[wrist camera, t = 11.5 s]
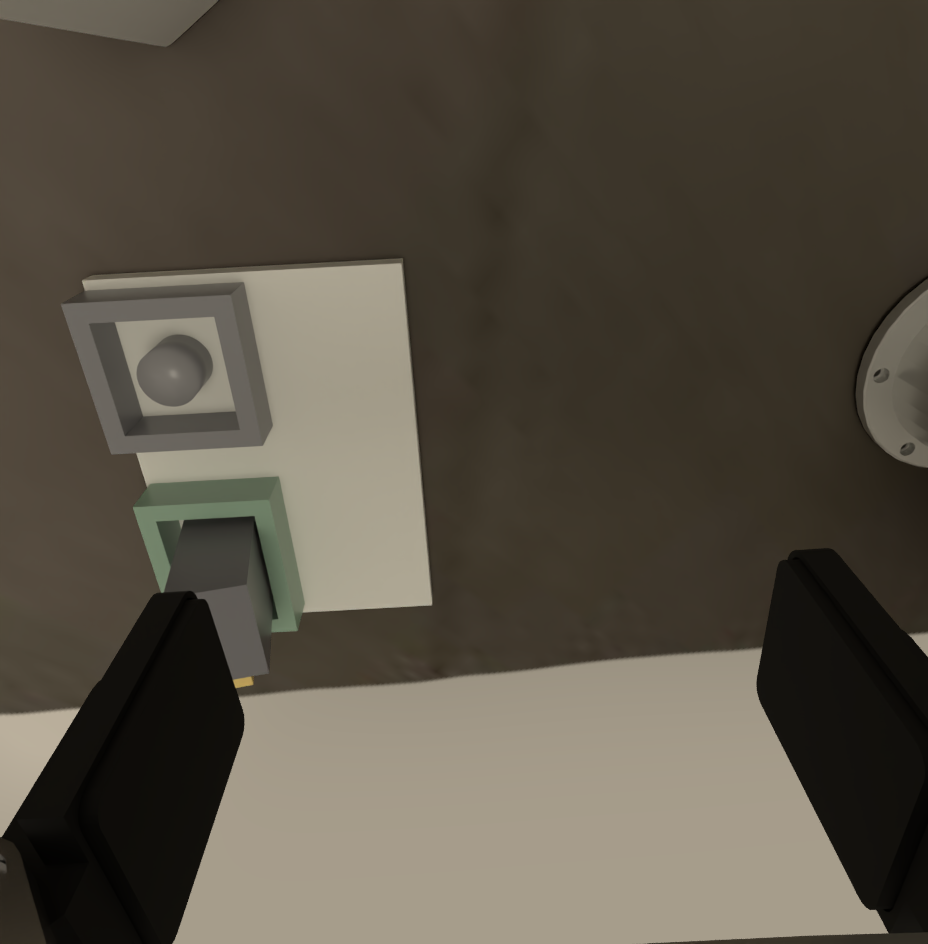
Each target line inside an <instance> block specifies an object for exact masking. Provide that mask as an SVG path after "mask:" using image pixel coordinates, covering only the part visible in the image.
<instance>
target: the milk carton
mask: <svg viewBox="0 0 928 944" xmlns="http://www.w3.org/2000/svg"><path fill="white" fill-rule="evenodd" d="M218 1H219V0H0V19H4V20H10V21H16V22H22V23H28V24H33V25H39V26H45V27H51V28H57V29H63V30H69V31H74V32H80V33H86V34H92V35H98V36H104V37H109V38H115V39H121V40H127V41H133V42H139V43H145V44H150V45H156V46H162V47H167V46H169V45H171V44H172V43H173V42H174V41H175V40H177V39H178V38H179V37H180V36H181V35H182V34H183V33H184V32H185V31H186V30H187V29H189V28H190V27H191V26H192V25H193V24H194V23H195V22H196V21H197V20H198V19H199V18H200V17H201V16H203V15H204V14H205V13H206V12H207V11H208V10H209V9H210V8H211V7H212V6H213V5H214V4H215V3H217V2H218Z"/></svg>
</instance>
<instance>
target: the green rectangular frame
mask: <svg viewBox="0 0 928 944" xmlns="http://www.w3.org/2000/svg"><path fill="white" fill-rule="evenodd" d="M133 509H134V512H135V515H136V518H137V521H138V524H139V527H140V530H141V533H142V536H143V539H144V542H145V545H146V548H147V551H148V554H149V557H150V560H151V563H152V566H153V569H154V572H155V575H156V578H157V581H158V584H159V587H160V590H161V593H163V592H164V590H165V586H166V582H167V579H168V575H169V572H170V568H171V564H172V561H173V557H174V554H175V550H176V546H177V543H178V539H179V536H180V532H181V526H180V523H179V520H192V519H209V518H227V517H245V516H255V520H256V525H257V529H258V533H259V537H260V542H261V546H262V550H263V555H264V559H265V563H266V568H267V572H268V576H269V580H270V585H271V589H272V593H273V613H272V631H271V632H285V631H298V627H299V624H300V620H301V616H302V612H303V609H304V605H305V601H304V596H303V592H302V587H301V582H300V577H299V572H298V567H297V562H296V558H295V553H294V548H293V543H292V538H291V533H290V528H289V523H288V519H287V514H286V509H285V504H284V499H283V494H282V489H281V484H280V480H279V477H261V478H243V479H225V480H207V481H189V482H171V483H153V484H150V485H149V486H148V488H147V489H146V490H145V492H144V493H143V494H142V496H141V497H140V498H139V500H138V501H137V502H136V504H135V505H134V506H133Z"/></svg>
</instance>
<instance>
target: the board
mask: <svg viewBox="0 0 928 944" xmlns="http://www.w3.org/2000/svg"><path fill="white" fill-rule="evenodd" d="M82 283H83V286H84V289H85V291H83V292H82V293H80V294H78V295H76V296H74V297H73V298H71V299H69V300H67V301H65V302H64V303H62V304H61V306H62V309H63V312H64V315H65V318H66V321H67V324H68V327H69V330H70V333H71V336H72V339H73V342H74V345H75V348H76V351H77V354H78V357H79V360H80V363H81V366H82V368H83V371H84V374H85V377H86V380H87V383H88V386H89V389H90V392H91V395H92V398H93V401H94V404H95V407H96V410H97V413H98V416H99V419H100V422H101V425H102V428H103V431H104V434H105V437H106V440H107V443H108V446H109V449H110V452H111V454H127V453H136V454H137V457H138V460H139V463H140V466H141V469H142V473H143V476H144V479H145V482H146V485H147V488H148V486H149V485H150V484H153V483H171V482H189V481H207V480H225V479H243V478H261V477H279V480H280V484H281V489H282V494H283V499H284V504H285V509H286V514H287V519H288V523H289V528H290V533H291V538H292V543H293V548H294V553H295V558H296V562H297V567H298V572H299V577H300V582H301V587H302V592H303V596H304V601H305V605H304V609H303V612H319V611H337V610H355V609H373V608H390V607H408V606H426V605H432V584H431V573H430V561H429V550H428V538H427V527H426V516H425V504H424V493H423V482H422V470H421V459H420V447H419V436H418V425H417V413H416V402H415V391H414V379H413V368H412V356H411V345H410V334H409V322H408V311H407V300H406V288H405V277H404V266H403V258H397V259H378V260H360V261H341V262H323V263H305V264H286V265H268V266H249V267H231V268H213V269H194V270H176V271H157V272H139V273H121V274H102V275H92V276H90V277H88V278H86V279H84V280H82ZM183 521H184V520H179V523H180V526H181V529H182V525H183Z"/></svg>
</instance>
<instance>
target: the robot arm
mask: <svg viewBox="0 0 928 944" xmlns="http://www.w3.org/2000/svg"><path fill="white" fill-rule="evenodd" d="M855 395H856V403H857V412H858V415H859V417H860V420H861V423H862V425H863V428H864V429H865V431H866V432H867V433H868V435H869V436H870V437H871V439H872V440H873V441H874V442H875V443H876V444H877V445H879V446H880V447H881V448H882V449H883V450H884V451H886V452H887V453H888V454H890V455H891V456H893V457H894V458H896V459H897V460H899V461H902V462H905V463H908V464H911V465H914V466H917V467H925V468H928V279H927V280H925V281H924V282H923V283H921V284H920V285H919V286H918V287H916V288H915V289H914V290H913V291H911V292H910V293H909V294H908V295H906V296H905V297H904V298H903V299H902V300H901V301H900V302H899V303H898V305H897V306H896V307H895V308H894V309H893V310H892V311H891V312H890V313H889V314H888V315H887V317H886V318H885V319H884V321H883V322H882V324H881V325H880V327H879V328H878V329H877V331H876V332H875V334H874V335H873V337H872V339H871V341H870V343H869V345H868V347H867V349H866V351H865V353H864V355H863V358H862V362H861V365H860V368H859V372H858V375H857V384H856V394H855ZM757 693H758V697H759V700H760V703H761V705H762V707H763V709H764V711H765V713H766V715H767V717H768V719H769V721H770V723H771V725H772V727H773V729H774V731H775V733H776V735H777V737H778V739H779V741H780V742H781V744H782V746H783V748H784V750H785V752H786V754H787V756H788V758H789V760H790V762H791V764H792V766H793V768H794V770H795V772H796V774H797V776H798V778H799V780H800V782H801V784H802V786H803V788H804V790H805V792H806V794H807V796H808V798H809V800H810V802H811V804H812V806H813V808H814V810H815V812H816V814H817V816H818V818H819V820H820V822H821V823H822V826H823V827H824V830H825V832H826V833H827V836H828V837H829V839H830V841H831V843H832V845H833V847H834V849H835V851H836V853H837V855H838V857H839V859H840V861H841V863H842V865H843V867H844V869H845V871H846V873H847V875H848V877H849V879H850V881H851V883H852V885H853V887H854V889H855V891H856V893H857V895H858V897H859V898H860V900H861V902H862V903H863V904H864V906H865V907H866V908H868V909H869V910H877V912H878V914H879V916H880V918H881V919H882V921H883V923H884V925H885V927H886V929H887V931H888V933H889V934H855V935H822V936H795V937H774V938H755V939H754V938H753V939H732V940H711V941H691V942H670V943H649V944H928V657H927V656H926V654H925V653H924V652H923V651H922V650H921V649H920V647H919V646H918V645H917V644H916V643H915V642H914V640H913V639H912V638H911V637H910V636H909V635H908V634H907V633H906V632H904V631H903V630H901V629H900V628H899V626H898V625H897V624H896V623H895V622H894V620H893V619H892V618H891V617H890V616H889V614H888V613H887V612H886V611H885V610H884V608H883V607H882V606H881V605H880V604H879V603H878V601H877V600H876V599H875V598H874V597H873V595H872V594H871V593H870V592H869V591H868V589H867V588H866V587H865V586H864V585H863V583H862V582H861V581H860V580H859V579H858V578H857V576H856V575H855V574H854V573H853V572H852V570H851V569H850V568H849V567H848V566H847V564H846V563H845V562H844V561H843V560H842V558H841V557H840V556H839V555H838V554H837V553H836V552H835V551H834V550H833V549H830V548H824V549H809V550H795V551H792V552H791V553H790V555H789V557H788V560H782V561H780V563H779V564H778V568H777V573H776V578H775V583H774V589H773V594H772V600H771V605H770V610H769V616H768V621H767V627H766V632H765V638H764V643H763V648H762V654H761V659H760V665H759V670H758V675H757ZM243 731H244V714H243V709H242V706H241V703H240V700H239V697H238V694H237V691H236V688H235V685H234V682H233V679H232V675H231V672H230V669H229V666H228V663H227V660H226V657H225V654H224V651H223V648H222V645H221V642H220V639H219V635H218V632H217V629H216V626H215V623H214V620H213V617H212V614H211V611H210V608H209V605H208V603H207V601H206V600H205V599H198V598H197V596H196V594H195V593H194V592H193V591H178V592H163V593H156V594H154V595H153V596H152V597H151V599H150V600H149V602H148V603H147V605H146V607H145V608H144V610H143V612H142V613H141V615H140V617H139V618H138V620H137V622H136V623H135V625H134V627H133V628H132V630H131V632H130V633H129V635H128V636H127V638H126V640H125V641H124V643H123V645H122V646H121V648H120V650H119V651H118V653H117V655H116V656H115V658H114V660H113V661H112V663H111V665H110V666H109V668H108V670H107V671H106V673H105V675H104V676H103V678H102V679H101V681H99V682H98V683H97V684H96V685H95V687H94V688H93V689H92V691H91V692H90V694H89V695H88V697H87V699H86V700H85V702H84V704H83V705H82V707H81V709H80V710H79V712H78V713H77V715H76V717H75V718H74V720H73V722H72V723H71V725H70V727H69V728H68V730H67V731H66V733H65V735H64V737H63V738H62V740H61V741H60V743H59V745H58V746H57V748H56V750H55V751H54V753H53V754H52V756H51V758H50V759H49V761H48V763H47V764H46V766H45V767H44V769H43V771H42V772H41V774H40V776H39V777H38V779H37V781H36V782H35V784H34V786H33V787H32V789H31V790H30V792H29V794H28V796H27V797H26V799H25V800H24V802H23V803H22V805H21V807H20V809H19V810H18V812H17V813H16V815H15V817H14V818H13V820H12V822H11V823H10V825H9V826H8V828H7V830H6V831H5V833H4V835H3V836H2V837H0V944H172V943H173V941H174V940H175V937H176V935H177V932H178V929H179V926H180V923H181V920H182V917H183V914H184V911H185V908H186V905H187V902H188V899H189V896H190V893H191V890H192V887H193V884H194V881H195V878H196V875H197V871H198V869H199V866H200V862H201V859H202V857H203V854H204V850H205V848H206V845H207V842H208V839H209V835H210V833H211V829H212V826H213V823H214V820H215V817H216V814H217V811H218V808H219V805H220V802H221V799H222V796H223V793H224V790H225V787H226V784H227V781H228V778H229V775H230V772H231V769H232V766H233V763H234V760H235V757H236V754H237V751H238V748H239V745H240V742H241V738H242V736H243Z"/></svg>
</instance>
